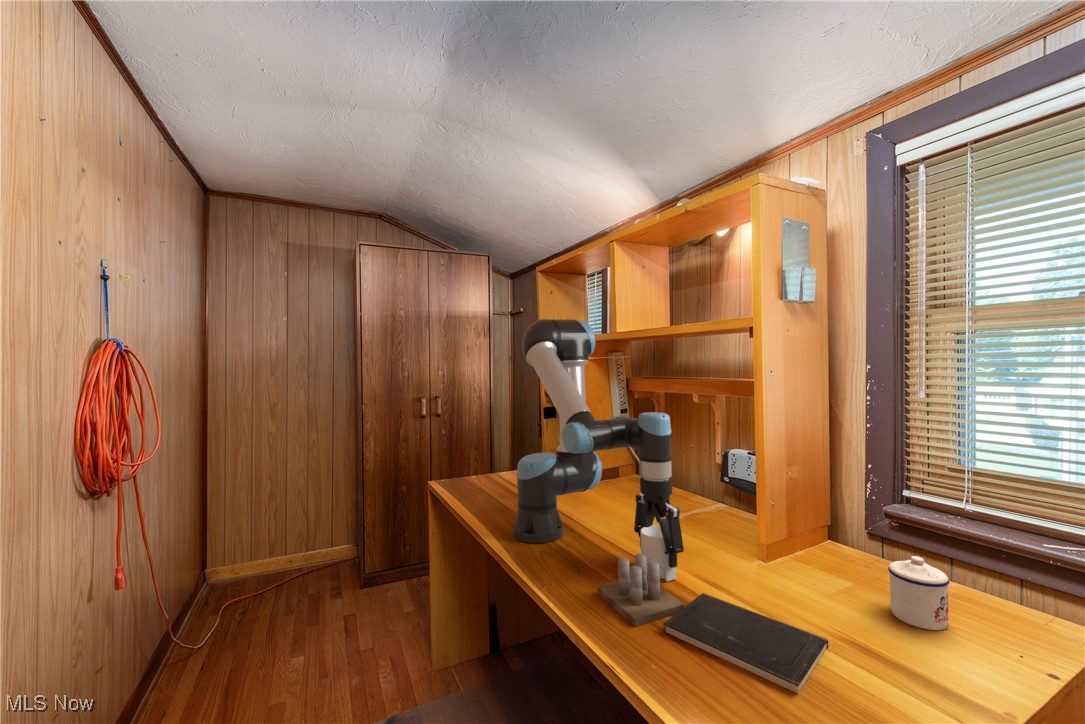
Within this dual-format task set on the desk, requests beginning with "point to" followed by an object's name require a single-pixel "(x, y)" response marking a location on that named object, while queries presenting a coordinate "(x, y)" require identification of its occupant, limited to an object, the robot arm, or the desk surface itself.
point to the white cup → (653, 547)
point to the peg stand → (639, 593)
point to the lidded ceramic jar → (919, 594)
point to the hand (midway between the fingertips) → (658, 571)
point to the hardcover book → (749, 640)
